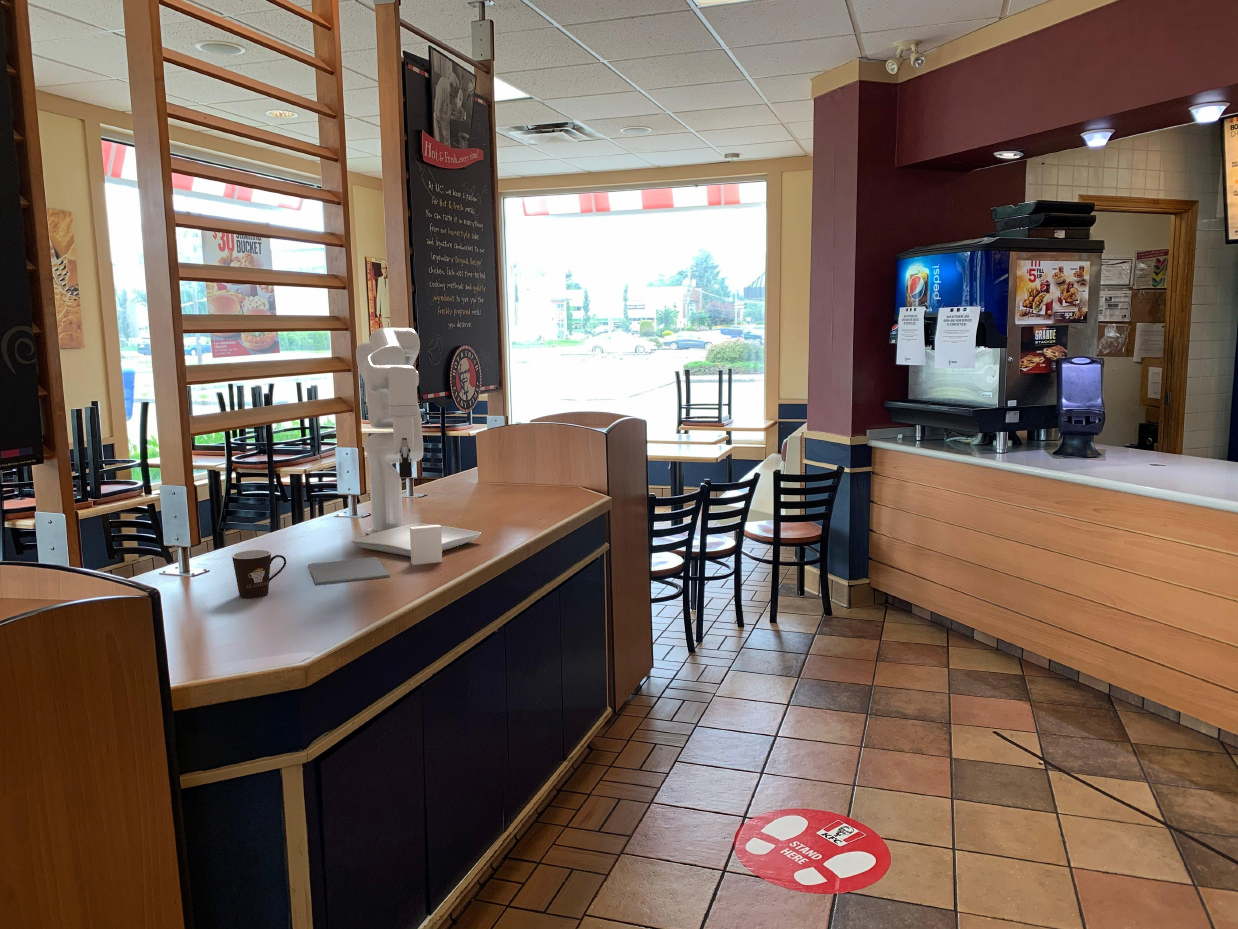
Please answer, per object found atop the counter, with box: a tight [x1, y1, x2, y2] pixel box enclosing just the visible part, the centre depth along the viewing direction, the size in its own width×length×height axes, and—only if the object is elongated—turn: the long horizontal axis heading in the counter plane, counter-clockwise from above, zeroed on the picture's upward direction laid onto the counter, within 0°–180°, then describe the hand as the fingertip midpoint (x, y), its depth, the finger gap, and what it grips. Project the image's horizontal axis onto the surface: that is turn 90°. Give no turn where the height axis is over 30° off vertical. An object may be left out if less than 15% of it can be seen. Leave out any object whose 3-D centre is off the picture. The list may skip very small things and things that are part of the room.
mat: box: [307, 556, 390, 586], centre depth 231 cm, size 20×18×1 cm
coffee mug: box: [231, 549, 287, 600], centre depth 210 cm, size 12×9×10 cm
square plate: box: [351, 522, 483, 557], centre depth 259 cm, size 27×27×4 cm
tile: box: [410, 524, 443, 566], centre depth 240 cm, size 3×8×10 cm, turn 115°
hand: (405, 475), depth 238 cm, fingers open, 9 cm apart
